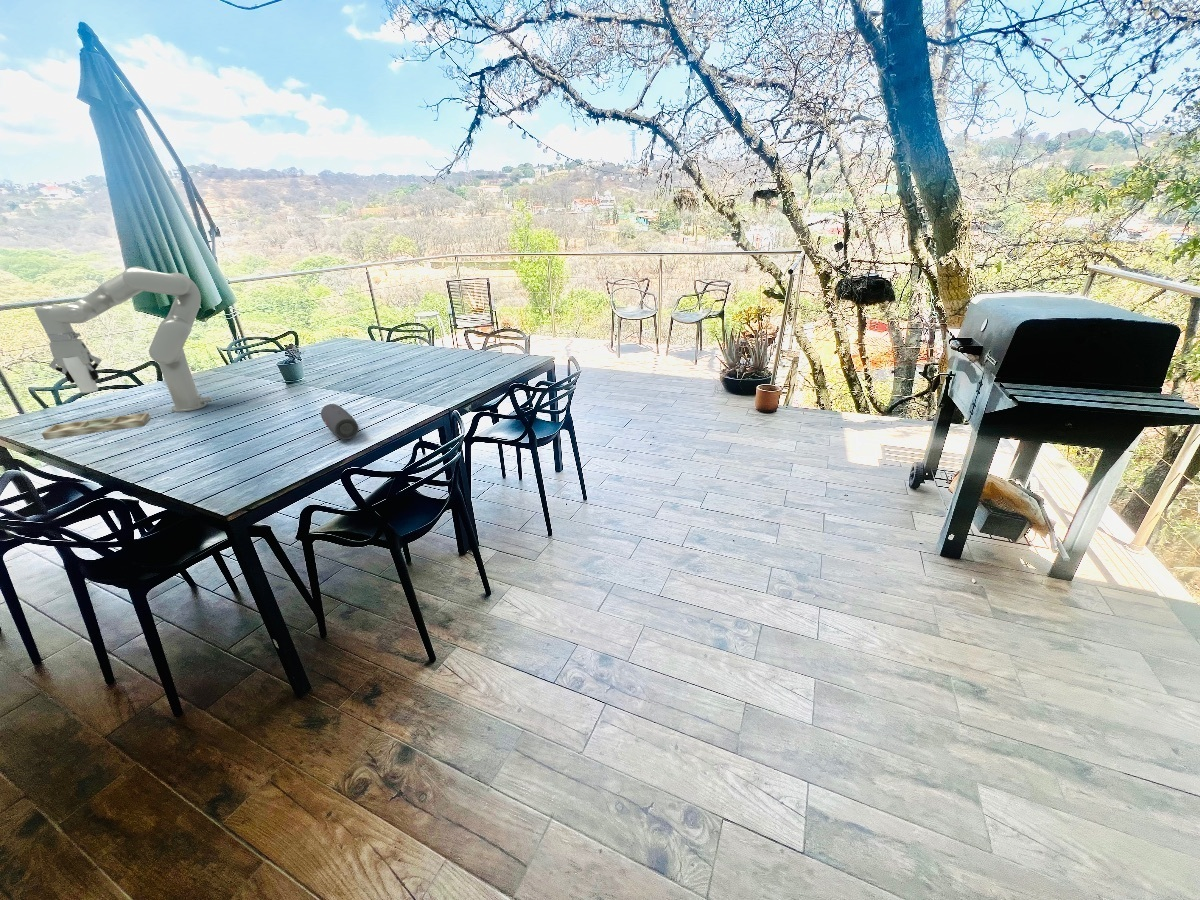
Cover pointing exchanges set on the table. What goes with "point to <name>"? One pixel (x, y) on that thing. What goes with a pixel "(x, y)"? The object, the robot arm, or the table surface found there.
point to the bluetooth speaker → (339, 421)
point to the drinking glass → (80, 374)
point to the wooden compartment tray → (96, 425)
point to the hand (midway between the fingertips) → (84, 380)
